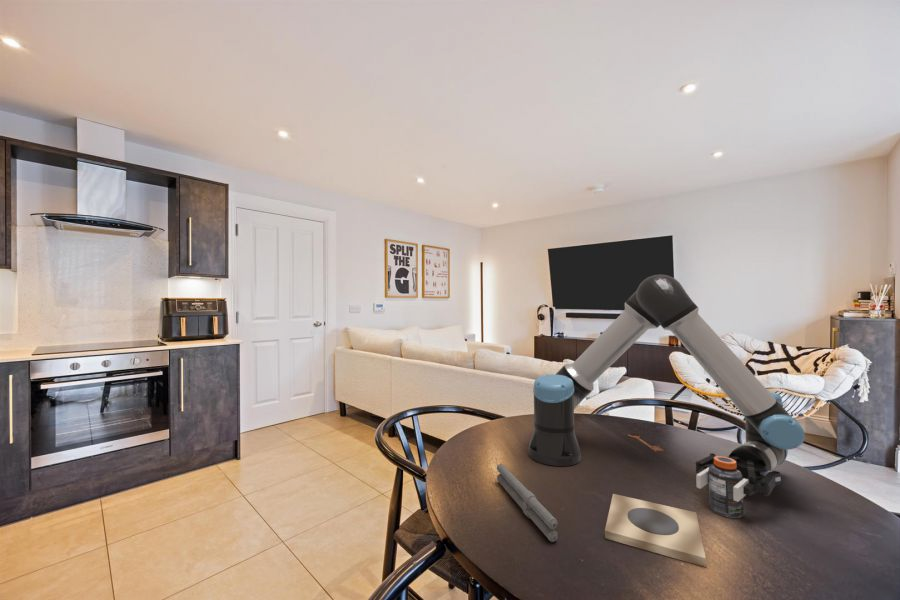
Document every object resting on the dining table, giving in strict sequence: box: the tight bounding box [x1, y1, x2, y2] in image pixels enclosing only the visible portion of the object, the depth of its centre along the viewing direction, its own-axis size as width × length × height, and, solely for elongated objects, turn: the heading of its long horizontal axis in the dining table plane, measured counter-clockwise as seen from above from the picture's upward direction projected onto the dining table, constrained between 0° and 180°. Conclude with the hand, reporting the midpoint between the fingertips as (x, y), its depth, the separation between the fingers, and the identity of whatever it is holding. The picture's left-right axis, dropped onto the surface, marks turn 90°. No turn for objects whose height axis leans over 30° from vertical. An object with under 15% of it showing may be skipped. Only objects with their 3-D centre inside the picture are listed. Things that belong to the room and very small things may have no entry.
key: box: [627, 433, 664, 452], centre depth 120 cm, size 6×1×15 cm
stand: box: [604, 493, 707, 568], centre depth 73 cm, size 16×16×2 cm
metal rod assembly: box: [496, 463, 559, 543], centre depth 81 cm, size 26×3×5 cm, turn 15°
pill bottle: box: [708, 455, 745, 519], centre depth 79 cm, size 6×6×11 cm
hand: (716, 487), depth 76 cm, fingers closed on pill bottle, 6 cm apart
